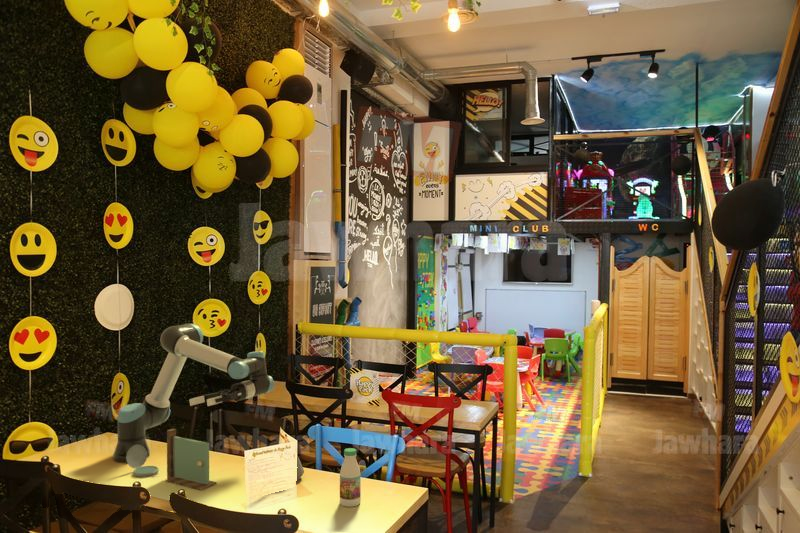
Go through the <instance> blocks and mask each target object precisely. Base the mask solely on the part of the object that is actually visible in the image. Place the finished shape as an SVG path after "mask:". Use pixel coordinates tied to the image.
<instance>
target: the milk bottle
mask: <svg viewBox="0 0 800 533" xmlns="http://www.w3.org/2000/svg"><path fill="white" fill-rule="evenodd" d="M343 456H344V460H343V462H342V464H341V468H340V472H339V503H340V505H341V506H342V507H346V508H353V507H357V506H359V505H360V504H361V502H362V500H361V499H362V498H361V494H362V493H361V489H362V488H361V486H362V484H361V481H362V480H361V477H362V476H361V469H360V466H359V463H358V461H357V449H355V448H352V447H348V448H345V449H344V450H343Z"/></svg>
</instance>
